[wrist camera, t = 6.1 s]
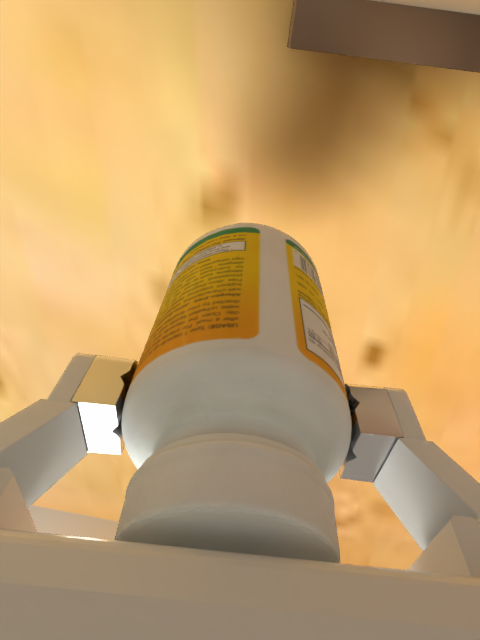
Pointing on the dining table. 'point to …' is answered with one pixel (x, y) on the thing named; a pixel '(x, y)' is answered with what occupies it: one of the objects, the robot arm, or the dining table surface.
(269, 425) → the supplement bottle
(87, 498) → the dining table surface
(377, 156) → the dining table surface
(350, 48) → the baseplate
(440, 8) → the pink white stepped block
